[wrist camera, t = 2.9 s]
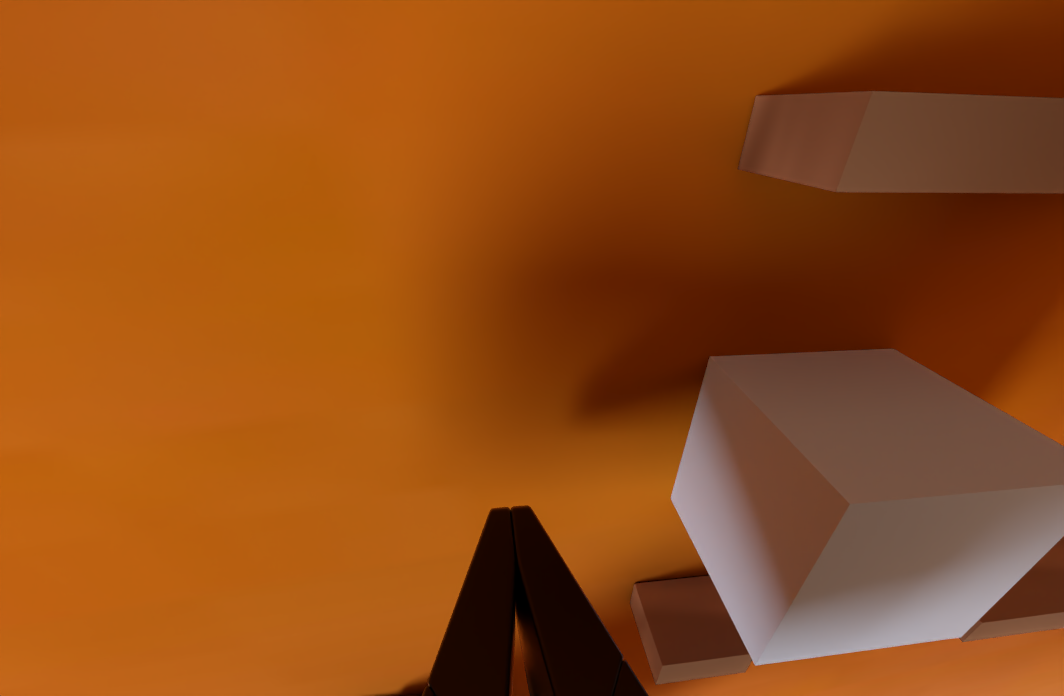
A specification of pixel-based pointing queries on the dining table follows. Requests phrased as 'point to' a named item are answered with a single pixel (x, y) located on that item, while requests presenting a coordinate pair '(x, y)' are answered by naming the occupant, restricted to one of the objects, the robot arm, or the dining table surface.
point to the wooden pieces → (875, 166)
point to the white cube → (860, 500)
